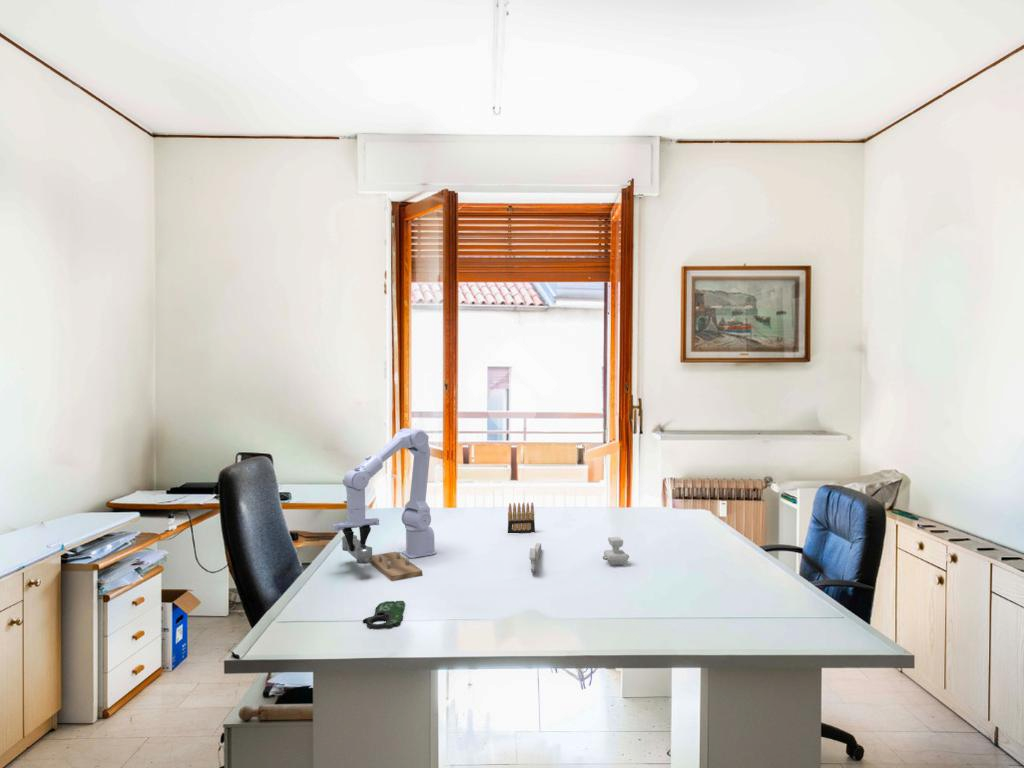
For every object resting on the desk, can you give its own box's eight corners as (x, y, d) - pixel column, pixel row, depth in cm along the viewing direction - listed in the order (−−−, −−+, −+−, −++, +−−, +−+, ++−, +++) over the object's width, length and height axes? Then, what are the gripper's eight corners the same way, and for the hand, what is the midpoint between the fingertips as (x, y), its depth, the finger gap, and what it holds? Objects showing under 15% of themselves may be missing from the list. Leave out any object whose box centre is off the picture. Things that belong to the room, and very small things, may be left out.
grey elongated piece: (354, 546, 213) (354, 534, 212) (374, 562, 195) (374, 549, 195) (340, 548, 210) (340, 536, 210) (359, 564, 192) (359, 551, 192)
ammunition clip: (534, 531, 249) (534, 501, 248) (535, 532, 247) (534, 502, 246) (507, 532, 247) (507, 502, 247) (508, 533, 246) (507, 503, 245)
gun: (369, 601, 172) (406, 600, 173) (369, 606, 172) (406, 605, 173) (359, 625, 156) (400, 624, 157) (359, 631, 156) (400, 629, 157)
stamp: (604, 567, 203) (604, 541, 203) (600, 561, 210) (600, 536, 210) (632, 566, 204) (632, 540, 204) (626, 560, 211) (626, 535, 211)
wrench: (541, 558, 223) (535, 576, 193) (536, 558, 223) (529, 576, 194) (541, 535, 224) (535, 550, 194) (536, 535, 224) (529, 549, 194)
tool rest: (395, 555, 217) (395, 545, 217) (422, 575, 197) (422, 564, 197) (367, 560, 212) (367, 550, 212) (391, 581, 192) (391, 569, 192)
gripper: (374, 503, 209) (374, 543, 209) (330, 508, 202) (330, 550, 202) (381, 507, 203) (381, 548, 203) (336, 512, 196) (336, 555, 196)
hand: (356, 549), depth 202 cm, fingers closed on grey elongated piece, 3 cm apart
